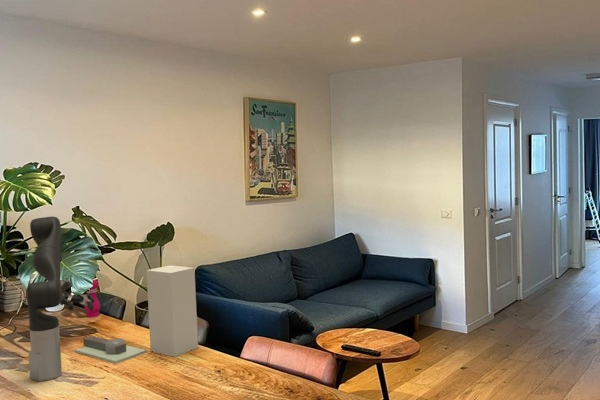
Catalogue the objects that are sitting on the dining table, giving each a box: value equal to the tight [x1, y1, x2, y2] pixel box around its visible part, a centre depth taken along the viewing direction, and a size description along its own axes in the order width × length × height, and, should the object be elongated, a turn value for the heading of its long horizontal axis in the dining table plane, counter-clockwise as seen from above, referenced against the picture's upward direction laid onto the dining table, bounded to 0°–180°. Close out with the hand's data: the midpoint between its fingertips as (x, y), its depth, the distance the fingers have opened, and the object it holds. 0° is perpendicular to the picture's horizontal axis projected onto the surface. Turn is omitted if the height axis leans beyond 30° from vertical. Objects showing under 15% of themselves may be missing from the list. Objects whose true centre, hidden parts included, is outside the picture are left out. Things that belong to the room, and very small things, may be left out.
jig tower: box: [146, 264, 199, 358], centre depth 211 cm, size 12×14×32 cm
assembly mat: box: [74, 344, 147, 365], centre depth 211 cm, size 14×26×1 cm, turn 55°
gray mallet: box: [82, 335, 127, 355], centre depth 213 cm, size 7×22×4 cm, turn 55°
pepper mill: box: [84, 279, 101, 318], centre depth 269 cm, size 7×7×20 cm
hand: (82, 308), depth 223 cm, fingers open, 8 cm apart
